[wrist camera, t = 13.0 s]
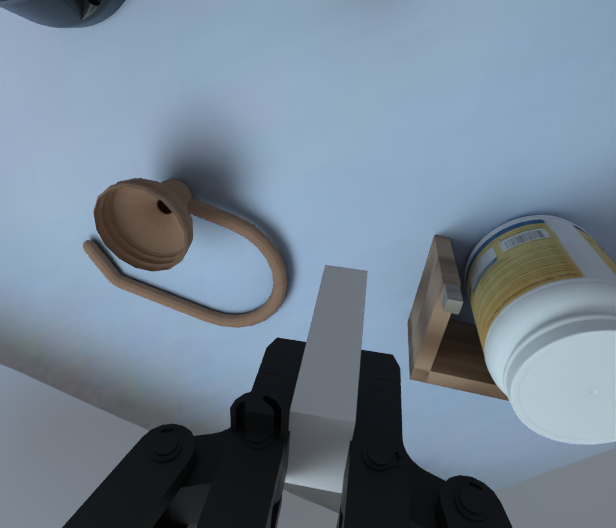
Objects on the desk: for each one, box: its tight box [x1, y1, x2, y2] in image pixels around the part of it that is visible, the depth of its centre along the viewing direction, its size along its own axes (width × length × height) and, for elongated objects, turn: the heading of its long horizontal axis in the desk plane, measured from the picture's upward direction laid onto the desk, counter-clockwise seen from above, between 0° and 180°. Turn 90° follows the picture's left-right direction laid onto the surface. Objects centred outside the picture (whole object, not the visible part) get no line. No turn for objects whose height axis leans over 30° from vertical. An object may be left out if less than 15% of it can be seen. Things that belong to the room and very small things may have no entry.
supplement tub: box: [465, 215, 616, 444], centre depth 36 cm, size 12×12×17 cm
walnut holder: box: [408, 235, 509, 401], centre depth 41 cm, size 11×20×11 cm, turn 82°
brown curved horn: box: [83, 178, 288, 328], centre depth 46 cm, size 24×9×19 cm
